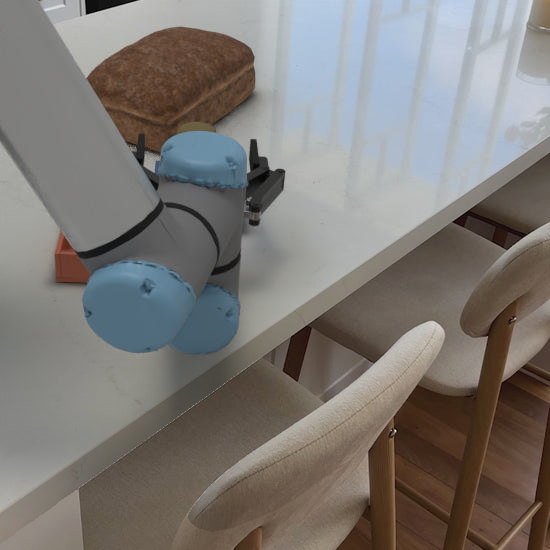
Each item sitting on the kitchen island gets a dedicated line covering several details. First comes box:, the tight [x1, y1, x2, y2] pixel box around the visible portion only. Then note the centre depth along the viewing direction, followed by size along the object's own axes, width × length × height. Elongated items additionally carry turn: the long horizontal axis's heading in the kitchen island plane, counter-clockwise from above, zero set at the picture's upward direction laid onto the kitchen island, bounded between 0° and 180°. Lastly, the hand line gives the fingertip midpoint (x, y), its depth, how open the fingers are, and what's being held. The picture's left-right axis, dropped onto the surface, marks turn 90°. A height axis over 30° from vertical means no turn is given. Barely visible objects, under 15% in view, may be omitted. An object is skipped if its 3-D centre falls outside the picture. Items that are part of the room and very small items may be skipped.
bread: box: [86, 26, 256, 153], centre depth 136 cm, size 17×29×11 cm, turn 155°
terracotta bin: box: [53, 229, 91, 284], centre depth 103 cm, size 11×11×4 cm
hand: (197, 146), depth 109 cm, fingers open, 13 cm apart
